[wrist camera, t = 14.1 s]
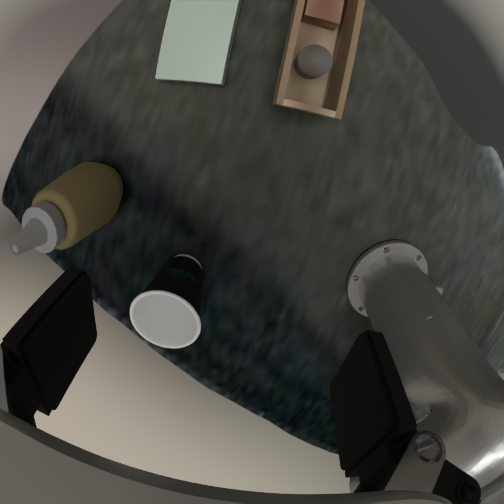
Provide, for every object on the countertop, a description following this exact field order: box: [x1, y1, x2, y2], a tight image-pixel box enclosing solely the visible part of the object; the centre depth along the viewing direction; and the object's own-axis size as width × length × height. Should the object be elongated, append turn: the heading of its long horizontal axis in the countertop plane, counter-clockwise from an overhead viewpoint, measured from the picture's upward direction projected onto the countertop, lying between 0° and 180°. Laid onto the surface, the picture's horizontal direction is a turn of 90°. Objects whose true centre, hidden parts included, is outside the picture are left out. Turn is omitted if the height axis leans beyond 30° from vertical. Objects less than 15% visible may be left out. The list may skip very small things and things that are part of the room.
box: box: [272, 0, 365, 120], centre depth 23 cm, size 6×19×8 cm, turn 169°
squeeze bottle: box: [10, 162, 123, 255], centre depth 27 cm, size 8×8×18 cm
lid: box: [155, 0, 242, 86], centre depth 24 cm, size 7×20×2 cm, turn 170°
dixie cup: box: [130, 254, 203, 348], centre depth 35 cm, size 8×8×11 cm
